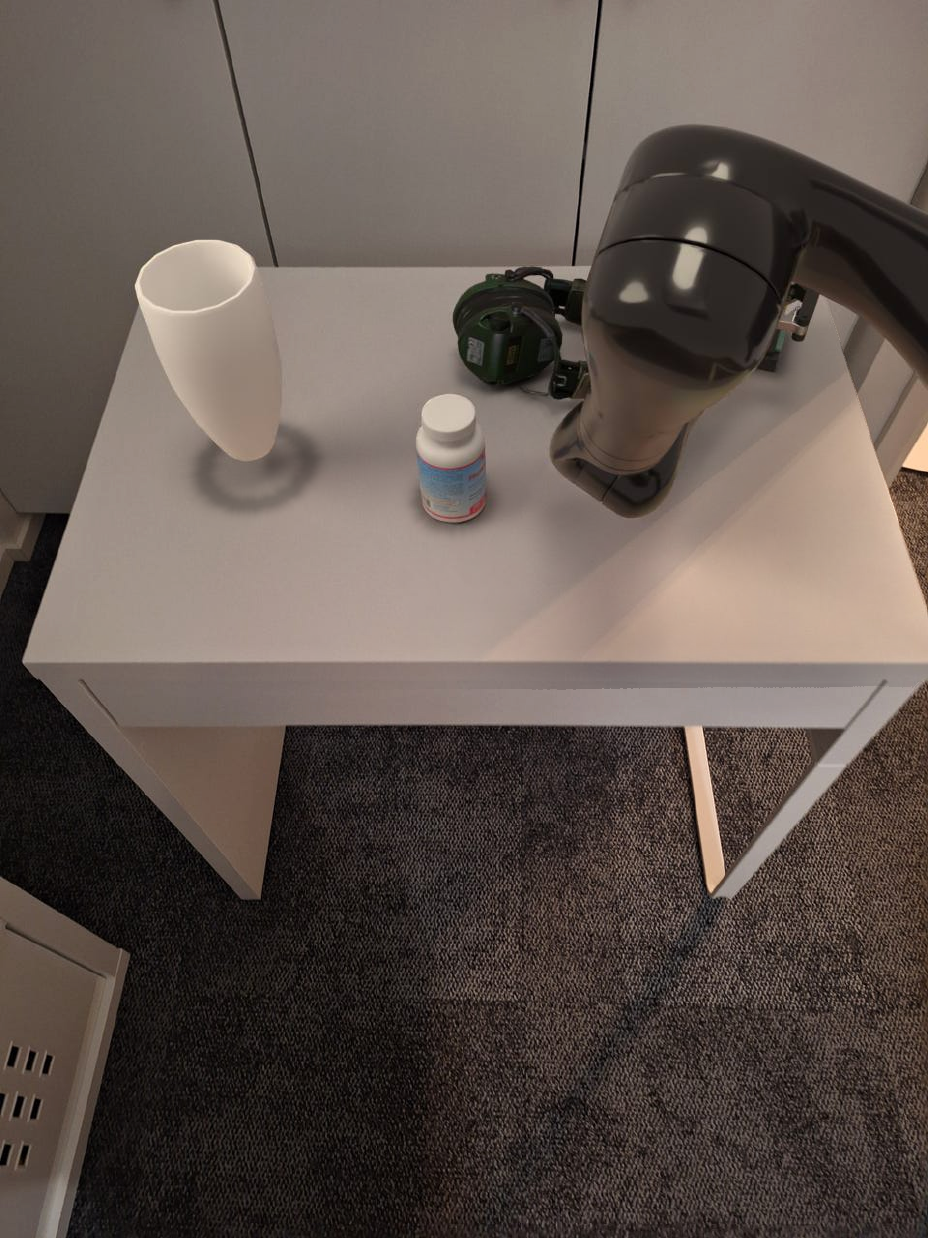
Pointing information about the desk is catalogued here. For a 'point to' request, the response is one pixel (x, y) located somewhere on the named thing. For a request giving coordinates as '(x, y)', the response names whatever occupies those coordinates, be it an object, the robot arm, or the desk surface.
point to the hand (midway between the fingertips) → (781, 250)
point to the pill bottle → (451, 459)
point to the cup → (216, 341)
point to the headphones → (521, 330)
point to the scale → (773, 352)
